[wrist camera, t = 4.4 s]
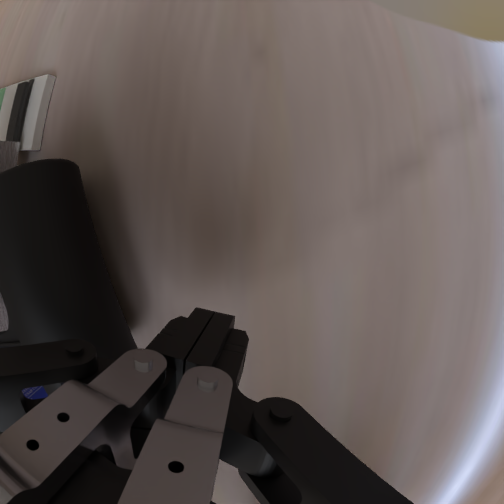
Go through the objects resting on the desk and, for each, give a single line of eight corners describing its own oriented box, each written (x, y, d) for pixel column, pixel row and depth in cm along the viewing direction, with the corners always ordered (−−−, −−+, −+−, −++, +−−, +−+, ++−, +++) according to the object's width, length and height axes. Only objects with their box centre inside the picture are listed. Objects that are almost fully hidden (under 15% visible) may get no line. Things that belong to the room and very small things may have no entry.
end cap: (164, 336, 15) (99, 412, 9) (80, 346, 17) (16, 398, 10) (108, 160, 14) (9, 153, 7) (32, 204, 15) (-49, 218, 8)
